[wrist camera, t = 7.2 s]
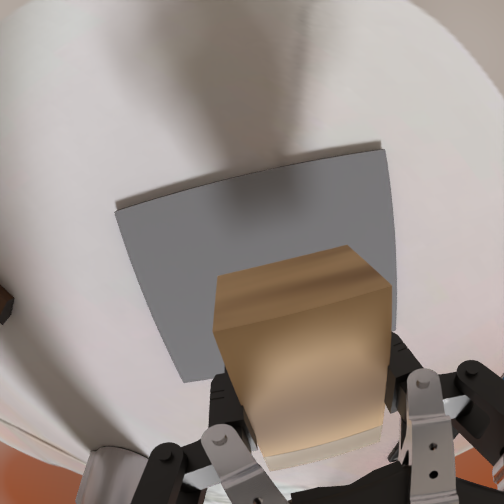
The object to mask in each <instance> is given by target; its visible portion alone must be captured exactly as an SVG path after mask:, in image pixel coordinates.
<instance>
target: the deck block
mask: <svg viewBox="0 0 504 504" xmlns="http://www.w3.org/2000/svg"><path fill="white" fill-rule="evenodd" d="M391 330H392V285H391V284H390V283H389V282H388V281H387V280H386V279H385V278H384V277H382V276H381V275H380V274H379V273H378V272H377V271H376V270H375V269H374V268H373V267H372V266H370V265H369V264H368V263H367V262H366V261H365V260H364V259H363V258H362V257H360V256H359V255H358V254H357V253H356V252H355V251H354V250H353V249H351V248H350V247H349V246H348V245H344V246H340V247H336V248H332V249H328V250H324V251H319V252H315V253H311V254H307V255H303V256H299V257H295V258H291V259H287V260H283V261H278V262H274V263H270V264H266V265H262V266H258V267H253V268H249V269H245V270H241V271H236V272H232V273H228V274H224V275H219V276H217V287H216V297H215V308H214V319H213V331H212V332H213V335H214V337H215V340H216V343H217V346H218V348H219V351H220V354H221V356H222V359H223V361H224V364H225V367H226V369H227V372H228V374H229V377H230V379H231V382H232V384H233V387H234V389H235V392H236V394H237V397H238V399H239V402H240V404H241V405H243V407H244V409H245V411H246V414H247V416H248V419H249V421H250V423H251V426H252V428H253V430H254V433H255V435H256V438H257V444H258V446H259V448H260V450H261V453H262V455H263V458H264V460H265V462H266V464H267V466H268V468H269V470H270V471H275V470H281V469H286V468H291V467H295V466H300V465H304V464H308V463H312V462H316V461H320V460H324V459H328V458H331V457H335V456H338V455H342V454H345V453H348V452H351V451H354V450H357V449H360V448H363V447H366V446H369V445H372V444H374V443H377V442H380V437H381V431H382V424H383V417H384V410H385V403H384V399H385V391H386V381H387V369H388V365H389V364H390V349H391Z"/></svg>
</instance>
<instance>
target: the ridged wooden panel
mask: <svg viewBox="0 0 504 504" xmlns="http://www.w3.org/2000/svg"><path fill="white" fill-rule="evenodd" d="M13 302H14V297H13V296H12V295H11V294H10V293H9V292H7V291H6V290H5V289H4V288H3V287H2V286H1V285H0V323H1V324H2V325H3V324H4V323H5V321H6V320H7V319H8V318H9V316H10V315H11V311H12V307H13Z"/></svg>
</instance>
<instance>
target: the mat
mask: <svg viewBox="0 0 504 504" xmlns="http://www.w3.org/2000/svg"><path fill="white" fill-rule="evenodd" d="M114 213H115V216H116V219H117V223H118V226H119V229H120V232H121V235H122V238H123V241H124V244H125V247H126V250H127V252H128V255H129V258H130V261H131V264H132V266H133V269H134V272H135V274H136V277H137V280H138V282H139V285H140V287H141V290H142V292H143V295H144V297H145V300H146V302H147V305H148V307H149V309H150V312H151V314H152V317H153V319H154V321H155V324H156V326H157V328H158V330H159V333H160V335H161V337H162V339H163V341H164V344H165V346H166V348H167V350H168V352H169V354H170V356H171V358H172V361H173V363H174V365H175V367H176V369H177V371H178V373H179V375H180V377H181V379H182V381H183V383H187V382H194V381H200V380H206V379H212V378H214V377H215V375H216V374H222V373H224V367H225V364H224V361H223V359H222V356H221V354H220V351H219V348H218V346H217V343H216V340H215V337H214V335H213V332H212V331H213V319H214V308H215V297H216V287H217V276H219V275H224V274H228V273H232V272H236V271H241V270H245V269H249V268H253V267H258V266H262V265H266V264H270V263H274V262H278V261H283V260H287V259H291V258H295V257H299V256H303V255H307V254H311V253H315V252H319V251H324V250H328V249H332V248H336V247H340V246H344V245H348V246H349V247H350V248H351V249H353V250H354V251H355V252H356V253H357V254H358V255H359V256H360V257H362V258H363V259H364V260H365V261H366V262H367V263H368V264H369V265H370V266H372V267H373V268H374V269H375V270H376V271H377V272H378V273H379V274H380V275H381V276H382V277H384V278H385V279H386V280H387V281H388V282H389V283H390V284H391V285H392V330H391V332H392V331H395V330H396V309H397V272H396V245H395V229H394V216H393V206H392V196H391V187H390V179H389V172H388V165H387V158H386V152H385V149H380V150H373V151H366V152H360V153H353V154H347V155H341V156H335V157H329V158H324V159H318V160H313V161H308V162H302V163H297V164H292V165H287V166H283V167H278V168H273V169H269V170H264V171H259V172H255V173H251V174H246V175H242V176H238V177H234V178H230V179H226V180H222V181H218V182H214V183H210V184H206V185H202V186H198V187H195V188H191V189H187V190H184V191H180V192H176V193H173V194H169V195H166V196H163V197H159V198H156V199H152V200H149V201H146V202H143V203H139V204H136V205H133V206H130V207H127V208H123V209H120V210H117V211H116V212H114Z"/></svg>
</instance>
